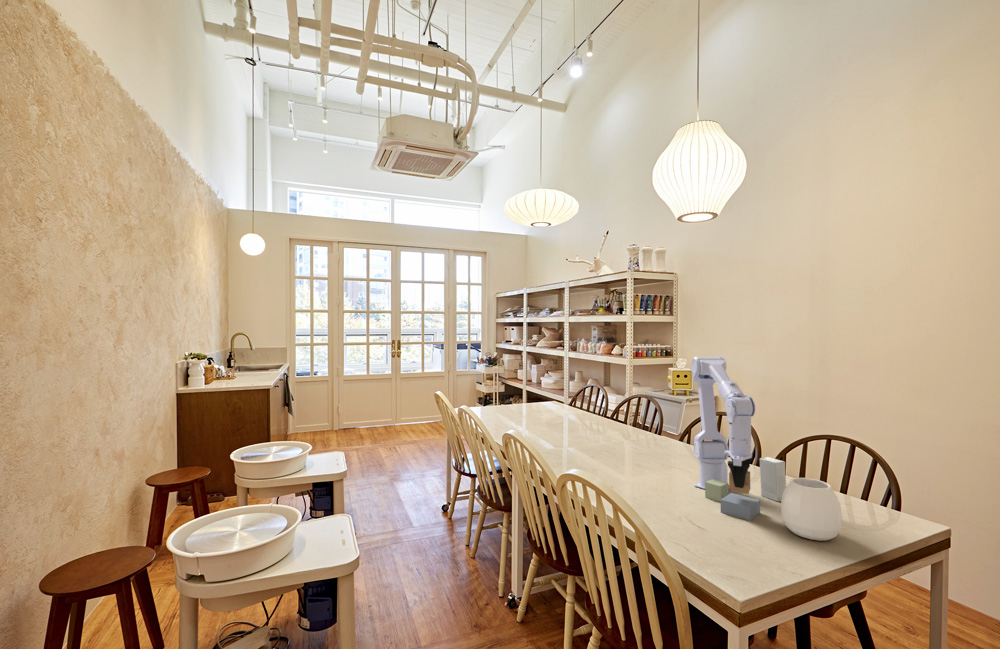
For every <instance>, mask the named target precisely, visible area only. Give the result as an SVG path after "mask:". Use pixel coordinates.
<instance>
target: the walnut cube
mask: <svg viewBox="0 0 1000 649" xmlns="http://www.w3.org/2000/svg"><path fill="white" fill-rule="evenodd" d="M728 474H729V475H728V485H729V487H728V490H729V491H730V492H731V491H732V492H737V493H742V494H748V495H750V494H749V493H750V490H751V471H749V470H748V471H747V473H746V477H745V483H744V487H743V488H738V487H735V485H734V481H733V476H732V472H731V470H730V471H729V473H728Z"/></svg>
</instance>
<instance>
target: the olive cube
mask: <svg viewBox="0 0 1000 649" xmlns="http://www.w3.org/2000/svg"><path fill="white" fill-rule="evenodd" d="M728 485H729V482H728V483H727V482H723V481H719V480H716V479H711V480H709V481H706V482H705V489H704V498H705V499H710V500H713V501H715V502H720V503H721V499H722V498H724V497H726V496H727V495H729V494H730V492H729V491H730V490H729V487H728Z"/></svg>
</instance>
